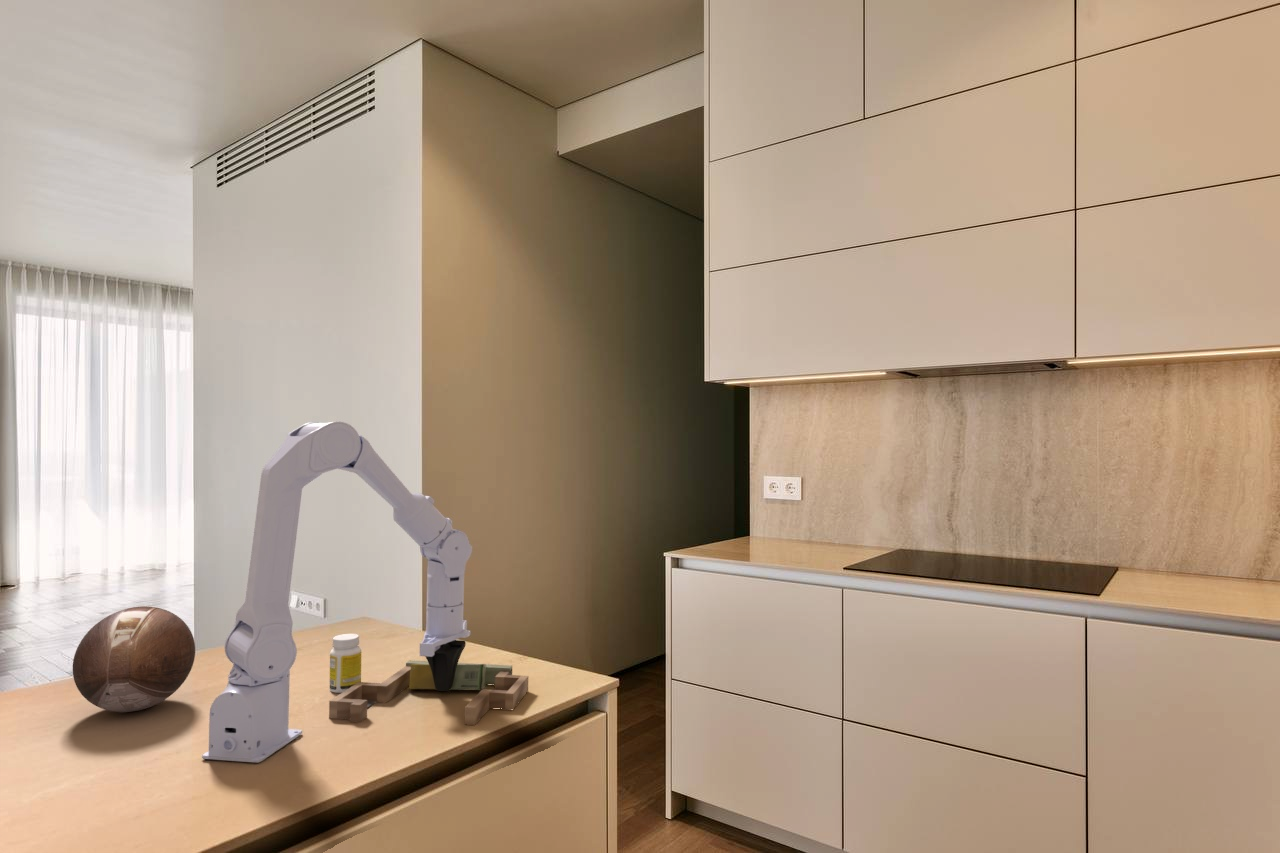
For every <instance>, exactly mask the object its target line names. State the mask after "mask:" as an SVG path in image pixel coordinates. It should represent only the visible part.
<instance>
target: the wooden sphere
mask: <svg viewBox="0 0 1280 853" xmlns="http://www.w3.org/2000/svg"><path fill="white" fill-rule="evenodd" d="M194 639H195V638H194V636H193V633H192V630H191V629H190V627H189V626H188V625H187V623H186V622H184V620H183V619H182V618H181V617H179V616H178V615H176V614H175V613H173V612H171V611H169V610H166V609H164V608H160V607H155V606H133V607H128V608H125V609H122V610H117V611H116V612H114V613H111V614H109V615H108V616H106V617H104V618H102V619H101V620H99V621H98V622H97V623H95V624H94V626H92V627H91V628H90V629H89V630H88V631H87V633H85V635H84V636H83V638H81V640H80V641H79V644H78V646H77V647H76V650H75V653H74V656H73V662H72V677H73V681H74V684H75V686H76V689H77V690H78V691H79V693H80V694H81V695H82V696H83V698H85V700H87V702H89V703H90V704H92V705H93V706H95V707H97V708H100V709H102V710H106V711H108V712H109V711H110V712H115V713H132V712H137V711H142V710H146V709H148V708H151V707H154V706H155V705H156V706H157V705H158V704H160V703H162V702H163V701H165V700H167V699H168V698H169V697H171V696H172V695H173V694H174V693H175V692H176V691H178V690H179V689H180V688H181V686H182V685H183V684H184V682H185V681H186V680H187V678H188V676H189V675H190V673H191V671H192V668H193V666H194V662H195V658H196V643H195V640H194Z"/></svg>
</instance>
